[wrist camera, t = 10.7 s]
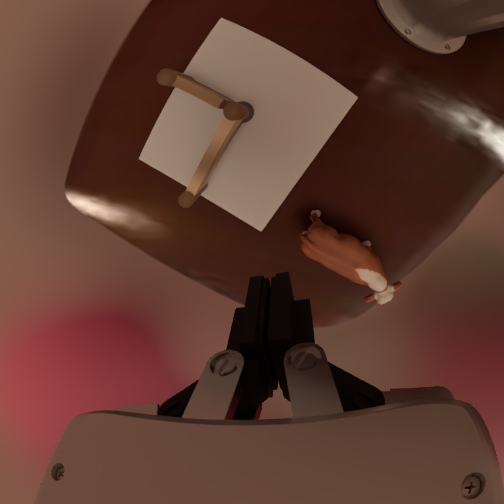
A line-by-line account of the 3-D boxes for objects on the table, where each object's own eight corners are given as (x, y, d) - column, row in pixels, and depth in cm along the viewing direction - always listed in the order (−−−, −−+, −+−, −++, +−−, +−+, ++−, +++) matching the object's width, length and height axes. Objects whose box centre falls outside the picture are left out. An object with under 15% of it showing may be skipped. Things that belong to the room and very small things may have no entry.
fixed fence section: (185, 73, 25) (162, 65, 19) (235, 99, 26) (223, 95, 20) (177, 86, 26) (153, 81, 20) (227, 111, 27) (214, 111, 21)
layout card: (221, 18, 22) (221, 17, 21) (357, 97, 25) (358, 97, 25) (140, 158, 30) (138, 159, 30) (261, 230, 33) (261, 231, 33)
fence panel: (239, 102, 26) (229, 99, 20) (252, 109, 26) (246, 107, 21) (192, 186, 31) (174, 203, 25) (205, 193, 31) (188, 211, 25)
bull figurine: (368, 279, 35) (386, 319, 28) (288, 224, 33) (291, 259, 26) (390, 256, 33) (413, 292, 26) (311, 195, 31) (320, 222, 24)
